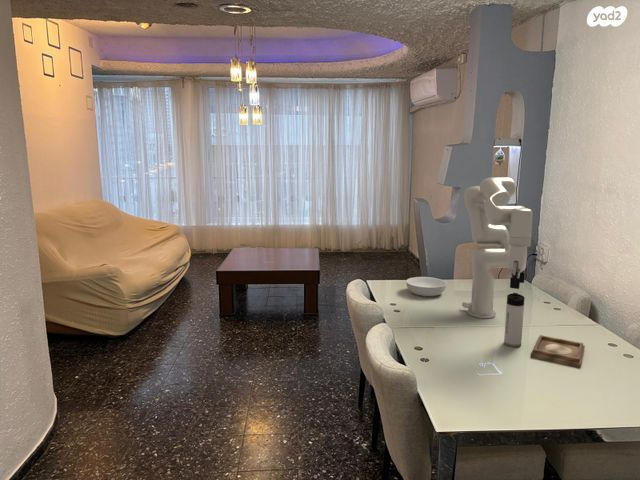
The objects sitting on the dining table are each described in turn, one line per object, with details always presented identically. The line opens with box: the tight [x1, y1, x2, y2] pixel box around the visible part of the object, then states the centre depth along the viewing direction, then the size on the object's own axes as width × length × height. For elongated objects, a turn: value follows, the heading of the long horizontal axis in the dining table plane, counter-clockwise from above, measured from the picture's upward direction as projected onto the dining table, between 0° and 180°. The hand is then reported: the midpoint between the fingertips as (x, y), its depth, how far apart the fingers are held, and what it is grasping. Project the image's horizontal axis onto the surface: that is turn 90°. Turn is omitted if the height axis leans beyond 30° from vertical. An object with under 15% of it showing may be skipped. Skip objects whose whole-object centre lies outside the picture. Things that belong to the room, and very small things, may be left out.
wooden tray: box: [530, 334, 586, 369], centre depth 172 cm, size 16×18×3 cm
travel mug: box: [503, 292, 525, 348], centre depth 179 cm, size 6×7×20 cm
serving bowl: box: [405, 276, 448, 297], centre depth 244 cm, size 21×21×7 cm
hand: (517, 285), depth 175 cm, fingers open, 9 cm apart
